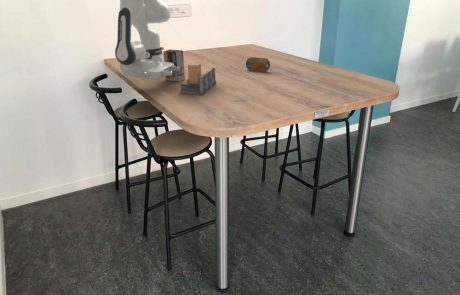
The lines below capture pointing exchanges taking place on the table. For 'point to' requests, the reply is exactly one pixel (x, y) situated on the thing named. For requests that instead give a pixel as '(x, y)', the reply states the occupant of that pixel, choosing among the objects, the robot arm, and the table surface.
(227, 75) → the table surface
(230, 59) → the table surface
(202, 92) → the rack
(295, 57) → the table surface
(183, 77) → the coffee box
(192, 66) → the tall salmon pillar
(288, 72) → the table surface
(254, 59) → the tin
